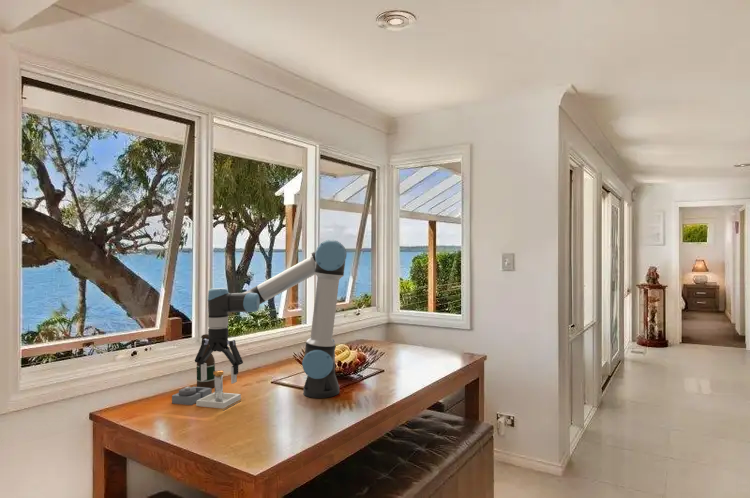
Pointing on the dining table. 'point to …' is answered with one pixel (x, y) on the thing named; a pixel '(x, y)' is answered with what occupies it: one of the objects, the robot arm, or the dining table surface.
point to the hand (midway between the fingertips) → (218, 381)
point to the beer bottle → (210, 369)
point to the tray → (227, 400)
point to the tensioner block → (190, 395)
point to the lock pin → (218, 385)
